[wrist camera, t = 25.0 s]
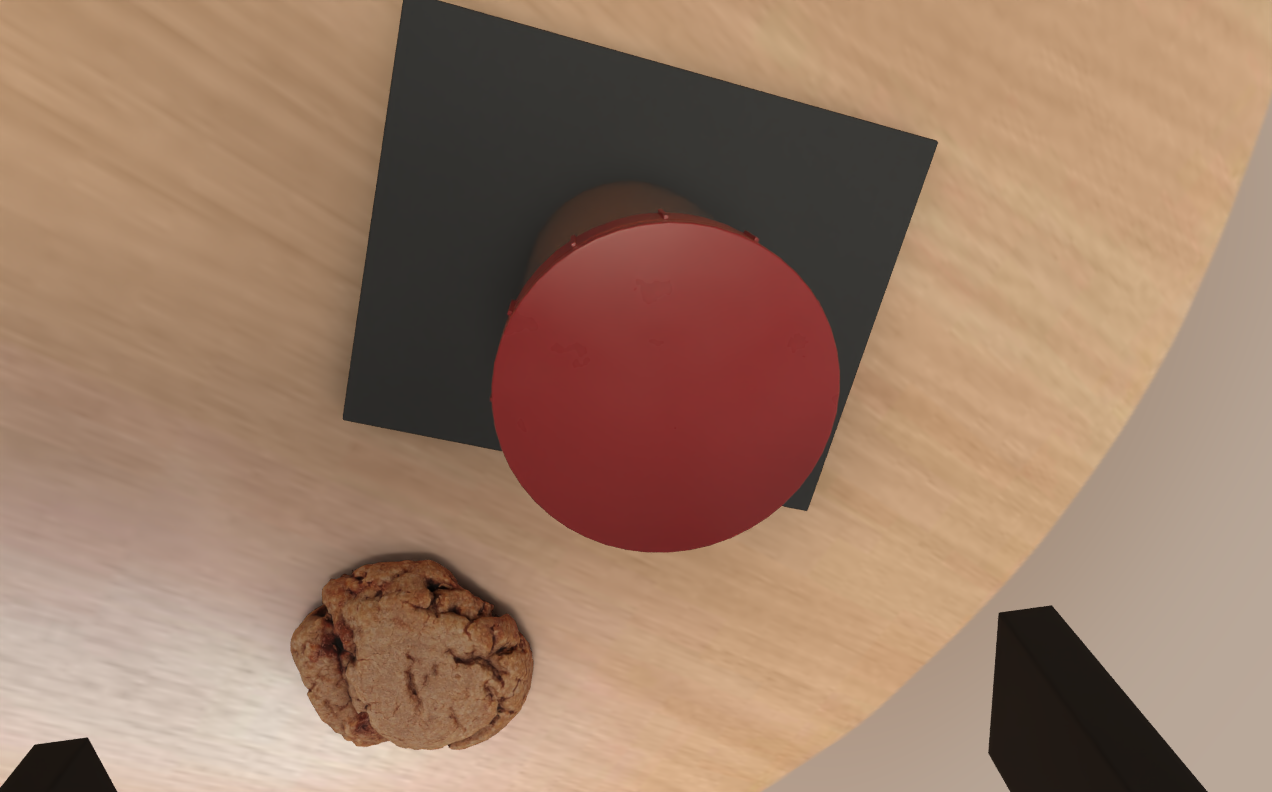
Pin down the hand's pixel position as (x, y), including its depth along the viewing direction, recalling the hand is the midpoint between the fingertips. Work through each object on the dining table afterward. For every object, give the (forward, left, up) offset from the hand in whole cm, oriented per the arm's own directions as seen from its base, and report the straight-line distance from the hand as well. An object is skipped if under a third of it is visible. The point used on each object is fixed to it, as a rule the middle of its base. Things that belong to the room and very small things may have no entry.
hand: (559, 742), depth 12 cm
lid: (-3, +2, -9) cm, 9 cm away
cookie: (+16, -3, -22) cm, 28 cm away
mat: (-3, +2, -22) cm, 22 cm away
